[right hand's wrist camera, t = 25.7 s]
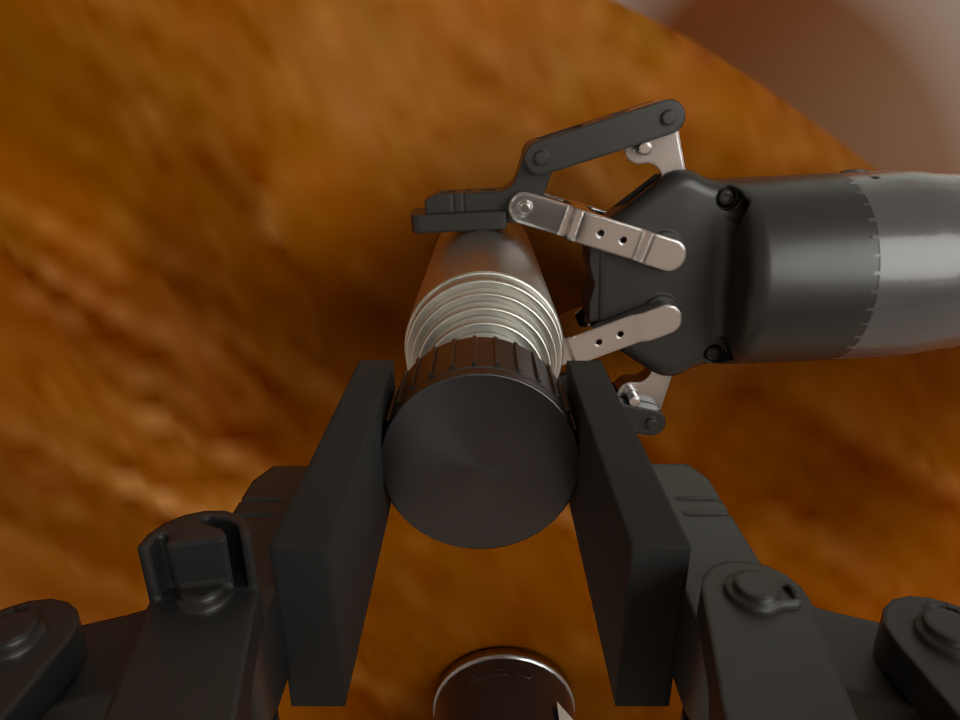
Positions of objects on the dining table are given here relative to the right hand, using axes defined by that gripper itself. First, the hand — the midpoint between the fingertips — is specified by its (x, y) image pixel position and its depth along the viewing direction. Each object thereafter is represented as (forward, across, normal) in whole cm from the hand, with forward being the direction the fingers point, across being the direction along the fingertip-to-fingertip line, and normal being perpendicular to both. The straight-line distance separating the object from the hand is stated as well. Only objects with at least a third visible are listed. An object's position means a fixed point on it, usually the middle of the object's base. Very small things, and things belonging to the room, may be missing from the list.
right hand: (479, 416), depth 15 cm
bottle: (+19, 0, 0) cm, 19 cm away
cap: (-2, 0, 0) cm, 2 cm away
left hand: (+13, -2, 0) cm, 13 cm away
